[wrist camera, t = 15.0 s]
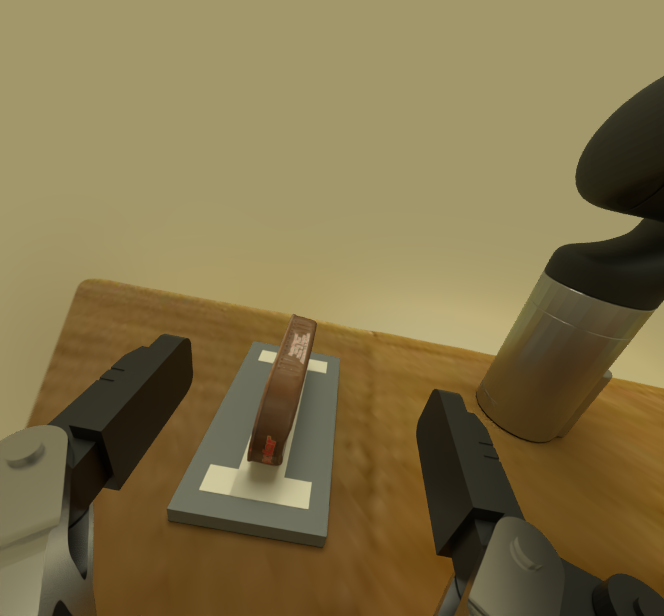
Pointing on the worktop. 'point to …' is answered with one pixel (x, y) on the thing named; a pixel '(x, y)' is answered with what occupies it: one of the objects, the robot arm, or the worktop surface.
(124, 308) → the worktop surface
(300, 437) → the letter board
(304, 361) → the tin
